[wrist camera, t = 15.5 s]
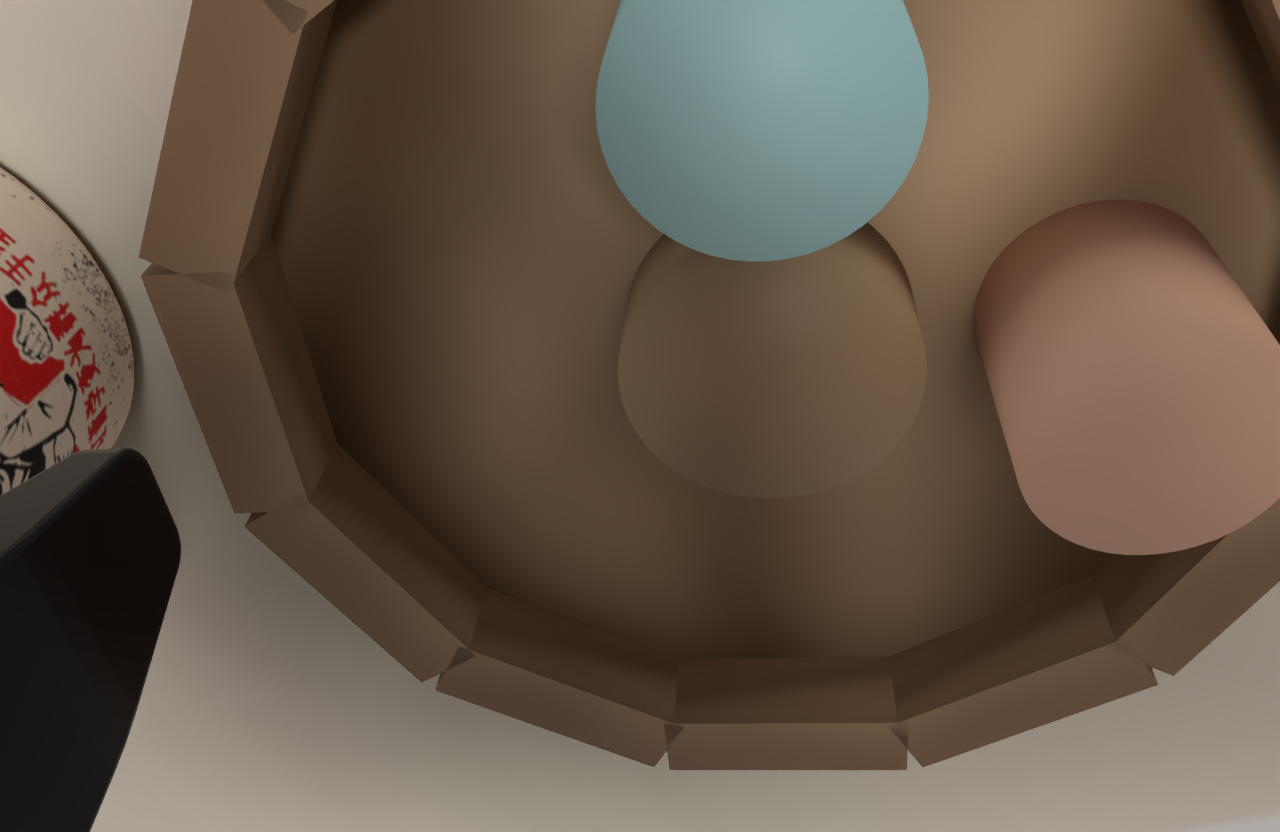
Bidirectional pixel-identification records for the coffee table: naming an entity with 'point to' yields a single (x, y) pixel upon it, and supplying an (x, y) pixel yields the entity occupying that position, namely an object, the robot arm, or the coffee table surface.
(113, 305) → the teacup with lid
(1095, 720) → the coffee table surface
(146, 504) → the robot arm
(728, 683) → the ring tray
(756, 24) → the bead teal
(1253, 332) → the bead terracotta
